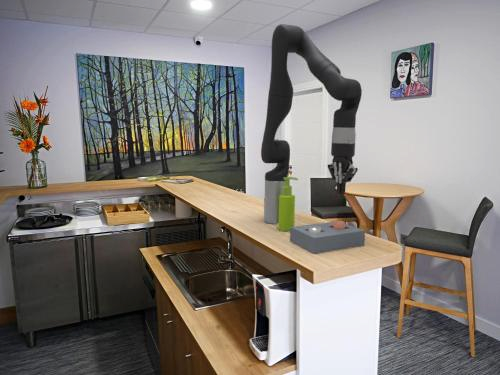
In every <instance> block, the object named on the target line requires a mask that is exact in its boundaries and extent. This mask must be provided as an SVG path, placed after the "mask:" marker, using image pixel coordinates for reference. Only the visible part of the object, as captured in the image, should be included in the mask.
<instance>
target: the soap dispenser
mask: <svg viewBox="0 0 500 375" xmlns="http://www.w3.org/2000/svg"><path fill="white" fill-rule="evenodd" d="M284 180H285V185H284V186H283V194H282V195H279V224H278V230H279V231H280V232H286V233H287V232H289V233H290V227H294V226H295V214H296V213H295V210H296V196H295V194H293V192H292V191H293V187H292V185H290V184H291V183H290V182H291V181H290V180H293V181H298V180H299V178H297V177H293V176H292V177H291V176H290V177H289V176H288V177H284Z"/></svg>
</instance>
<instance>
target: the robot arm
mask: <svg viewBox="0 0 500 375" xmlns="http://www.w3.org/2000/svg"><path fill="white" fill-rule="evenodd" d="M273 30H274V31H273V32H272V36H271V37H272V38H271V63H270V64H271V65H270V66H271V67H270V68H271V69H270V81H269V90H268V96H267V105H266V108H267V110H266V116H265V117H266V119H265V127H264V131H263V137H262V141H261V142H262V143H261V148H260V157H261V160H262V162H263V163H264V164H276V166H275V167H273V169H271V170H269V171H267V172H265V175H264V198H263V220H264V222H265V223H267V224H275V225H276V224H277V225H279V195H282V194H283V186H284V185H285V180H284V177H289V172H290V159H291V158H290V157H291V148H290V144H289V142H288V141H287V140H285V139H284V140H283V139H275V138H276V135H277V132H278V129H279V127H280V126H281V124H282V123H283V122H284V120H285V119H286V118H287V116H288V115H289V113H290V111H291V109H292V107H293V96H294V87H293V83H292V80H291V77H290V75H289V71H288V54H296V55H297V56H300V57H301V58H303V60H304V61H305V62H306V65H307V68H308V70H309V72H310V73H311V74H312V75H313V77H315V78H316V79H317V80H318V81H319V82H320V83H321V84H323V86H324V87H323V88H325V90H326V92H327V93H328V94H329V96H330V97H332V98H333V99H335V100H336V101H340V103H341V104H340V108H339V109H336V110H335V111H334V113H333V124H332V127H333V128H332V133H331V148H330V151H331V152H330V154H331V156H332V157H333V158H332V162H331V163H330V164H327V169H328V171H329V174H330V176H331V178H332V180H333V181H335V182H336V194H337V195H345V194H346V187H347V186H346V185H347V183H350V182H351V181H352V180H353V178H354V177H355V175H356V173H357V172H358V170H359V168H358V167H355V166H354V161H353V157H355V153H356V151H355V150H356V139H357V138H356V136H357V135H356V134H357V133H356V123H357V122H356V120H357V112H358V109H359V107H360V102H361V99H362V93H363V91H362V85H361V83H360V82H359V81H358V80H356V79H355V78H354V79H352V78H347V77H344V76H342V74H341V69H340V68H339V67H338V66H337V65H336V64H335V63H334V62H333V61H331V60H330V59H329V58H328V57H327V56H326V55H325V54H324V53H323V52H322V51H321V50H320V49H319V48H318V47H317V45H316V44H315V43H314V42H313V40H312V39H311V38H310V37H309V36H308V33H306V31H304V29H303V28H302V27H301V26H297V25H293V24H285V23H282V24H280V23H279V25H277V26H276V27H275V29H273Z"/></svg>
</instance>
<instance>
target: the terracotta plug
mask: <svg viewBox="0 0 500 375" xmlns="http://www.w3.org/2000/svg"><path fill="white" fill-rule="evenodd" d="M332 222H333V228H334V229H337V230H340V229H345V224H346V221H344V220H332Z"/></svg>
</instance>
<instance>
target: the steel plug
mask: <svg viewBox="0 0 500 375" xmlns="http://www.w3.org/2000/svg"><path fill="white" fill-rule="evenodd" d="M308 231H309V232H311V233H319V232H321V228H320V227H317V226H311V227H309V229H308Z"/></svg>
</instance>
